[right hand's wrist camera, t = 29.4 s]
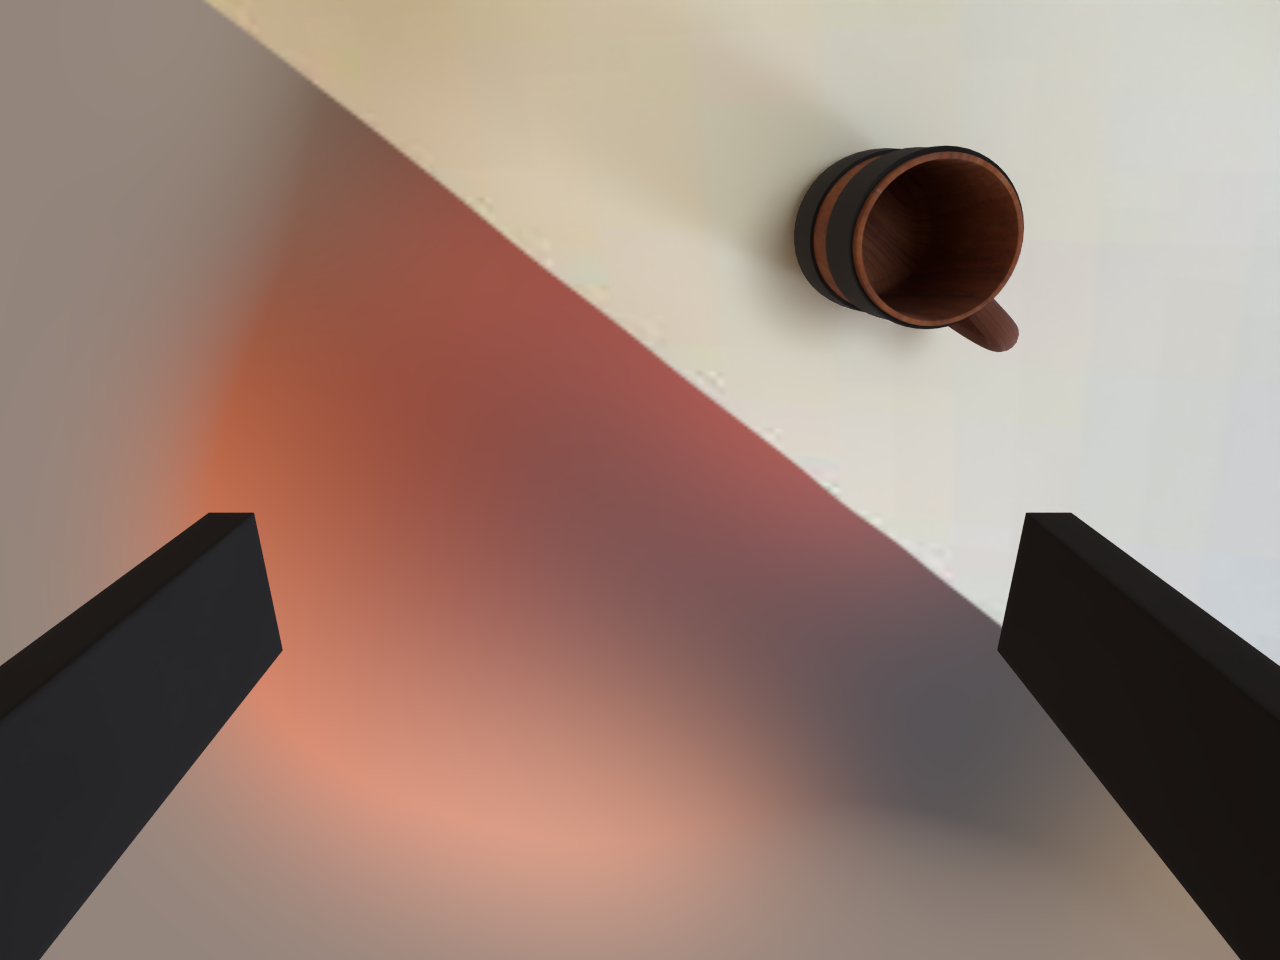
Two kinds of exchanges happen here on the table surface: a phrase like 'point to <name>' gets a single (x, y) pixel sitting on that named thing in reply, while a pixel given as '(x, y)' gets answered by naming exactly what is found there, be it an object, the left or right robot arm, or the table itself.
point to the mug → (915, 239)
